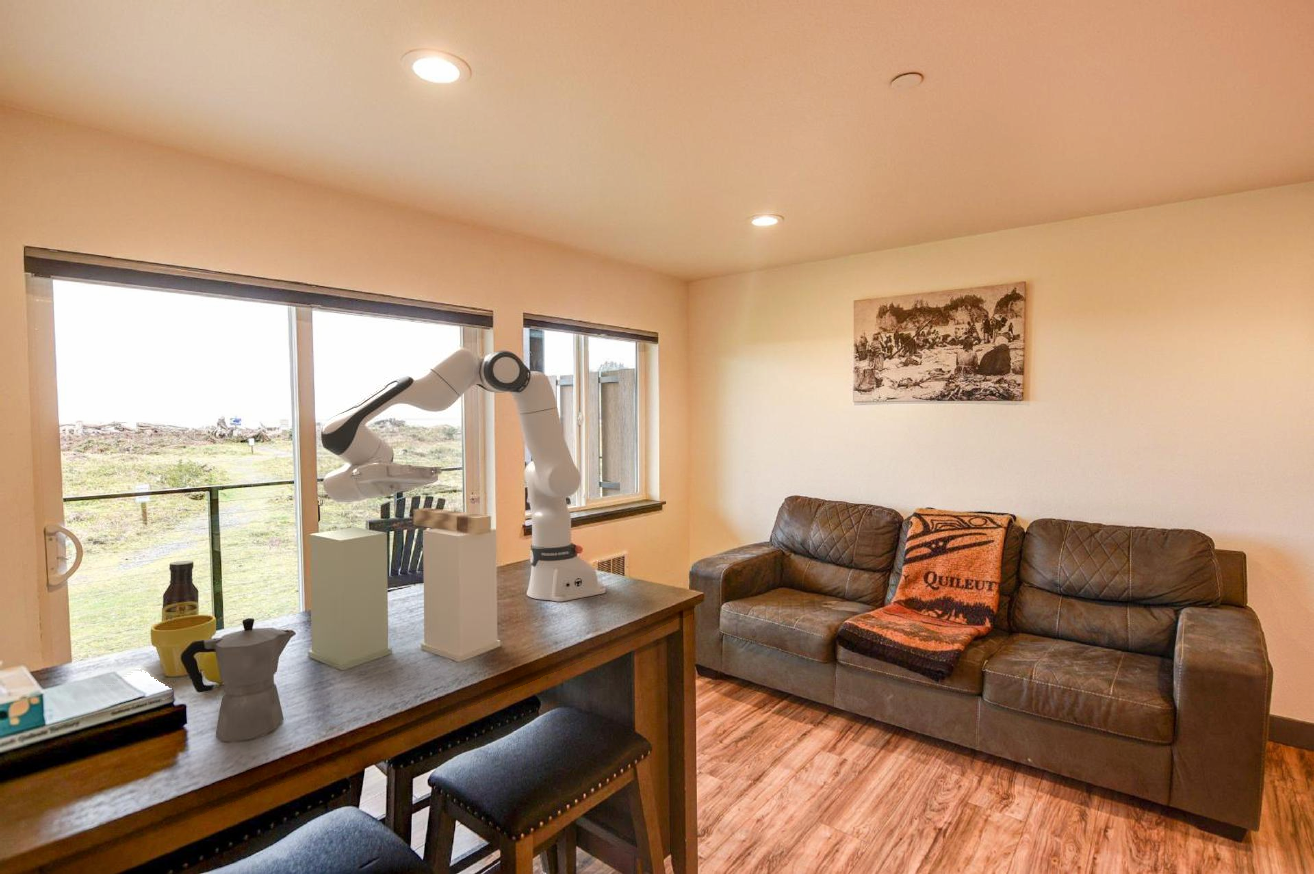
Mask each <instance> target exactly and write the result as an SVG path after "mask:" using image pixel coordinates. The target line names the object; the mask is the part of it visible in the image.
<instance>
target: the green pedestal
mask: <svg viewBox="0 0 1314 874" xmlns="http://www.w3.org/2000/svg"><path fill="white" fill-rule="evenodd" d="M387 534H388V532H384V531H379V530H374V529H373V530H372V529H368V528H362V527H348V528H341V529H336V530H329V531H323V532H315V533H314V532H313V533H310V534H309V567H310V569H309V570H310V576H309V579H310V620H311V622H310V623H311V625H310V627H311V649H310V650H307V653H308V654H307V656H308V657H309V658H310V659H313V660H316V661H317V662H320V663H323V664H325V665H327V666H329V667H332V668H335V669H337V670H339V671H345V670H348V669H351V668H354V667H356V666H359V665H361V664H365V663H368V662H372V661H373V660H376V659H377V660H378V659H380V658H382V657H385V656H388V655H391V654H393V647H390V646H389V606H388V605H389V602H388V601H389V596H388V595H389V594H388V537H387V536H388V535H387Z"/></svg>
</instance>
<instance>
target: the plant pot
mask: <svg viewBox="0 0 1314 874" xmlns="http://www.w3.org/2000/svg"><path fill="white" fill-rule="evenodd" d="M216 632H217V619H216V617H215V616H214V615H212V614H199V615H191V616H184V617H178V618H173V619H169V620H166V621H162V620H161V621H160V622H157V623H155V624H153V625H152V626H151V628H150V642H151V645H152V647H155V648H156V651H157V655H158V658H159V661H160V664H161V667H162V670H163V674H164V675H165V676H166V677H174V678H176V677H184V676H189V675H188V673H187V671H186V669H185V667H184V665H183V664H182V662H181V654H182V653H183V651H184V650H185V649H186V648H187V647H188V646H189V645H190V644H191V643H192V642H194V641H200V640H206V639H213V636H215V635H216V634H217V633H216ZM206 653H207V652H199V653H196V654H195V655H194V658H195V659H196V661H197V664H198V669H199V671H200V672H201V671H203V669H202V665H203V659H204V656H205V654H206Z"/></svg>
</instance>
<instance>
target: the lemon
mask: <svg viewBox="0 0 1314 874" xmlns="http://www.w3.org/2000/svg"><path fill="white" fill-rule="evenodd" d="M202 669H203V670H202V675H203V676H204V679H206V680H208V682H210V683H215V684H217V685H219V686H221V685H223V684H224V683H222V682H221V678H220V673H219V668H218V663H217V658H216V654H215V652H207V653H206V654H205V656H204V659H203V665H202Z"/></svg>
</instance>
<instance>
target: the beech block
mask: <svg viewBox="0 0 1314 874" xmlns="http://www.w3.org/2000/svg"><path fill="white" fill-rule="evenodd" d="M413 525H414V526H419V527H424V528H425V527H426V528H430V529H434V528H437V529H444V530H450V531H456V532H463V533H469V534H475V535H480V534H485V533H490V532H491V528H492V517H491V515H484V514H477V513H470V512H462V511H456V510H455V511H454V510H448V509H439V508H431V507H424V508H423V507H422V508H416V509H413Z"/></svg>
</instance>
